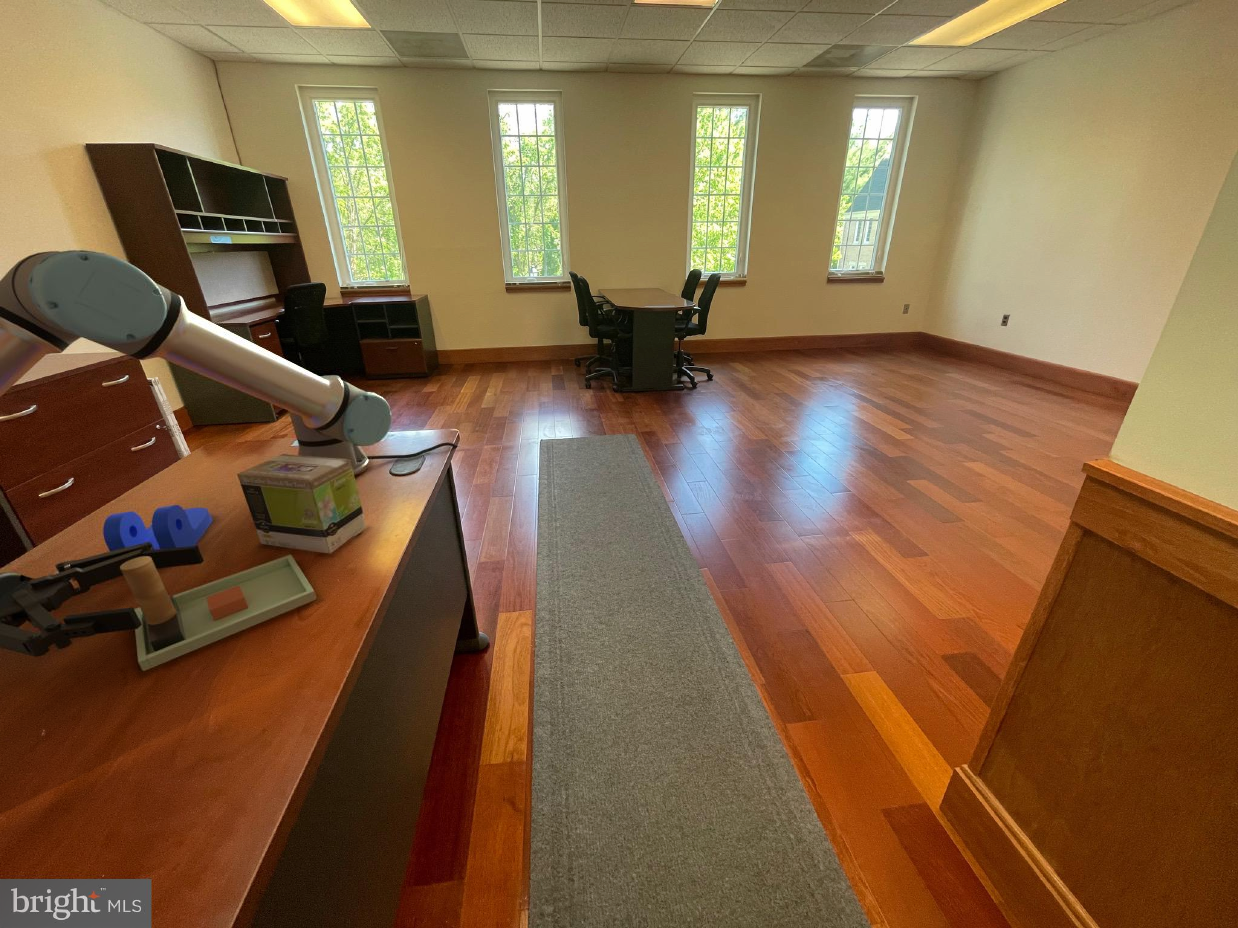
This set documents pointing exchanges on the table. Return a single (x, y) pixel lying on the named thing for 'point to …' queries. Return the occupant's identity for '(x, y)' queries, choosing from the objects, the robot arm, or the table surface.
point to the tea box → (303, 502)
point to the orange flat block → (226, 603)
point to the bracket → (157, 528)
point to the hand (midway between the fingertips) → (170, 583)
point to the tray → (266, 598)
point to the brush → (154, 602)
